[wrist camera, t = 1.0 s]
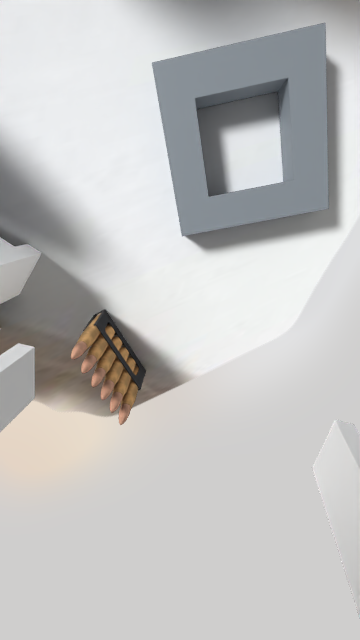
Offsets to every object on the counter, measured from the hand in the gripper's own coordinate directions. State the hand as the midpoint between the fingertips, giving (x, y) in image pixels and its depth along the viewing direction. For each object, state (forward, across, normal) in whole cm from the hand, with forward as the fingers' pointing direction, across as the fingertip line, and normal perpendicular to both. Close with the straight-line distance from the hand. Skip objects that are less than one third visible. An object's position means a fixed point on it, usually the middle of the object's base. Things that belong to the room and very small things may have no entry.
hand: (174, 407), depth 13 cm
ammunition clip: (+26, -10, -12) cm, 30 cm away
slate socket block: (+28, 0, +14) cm, 32 cm away
